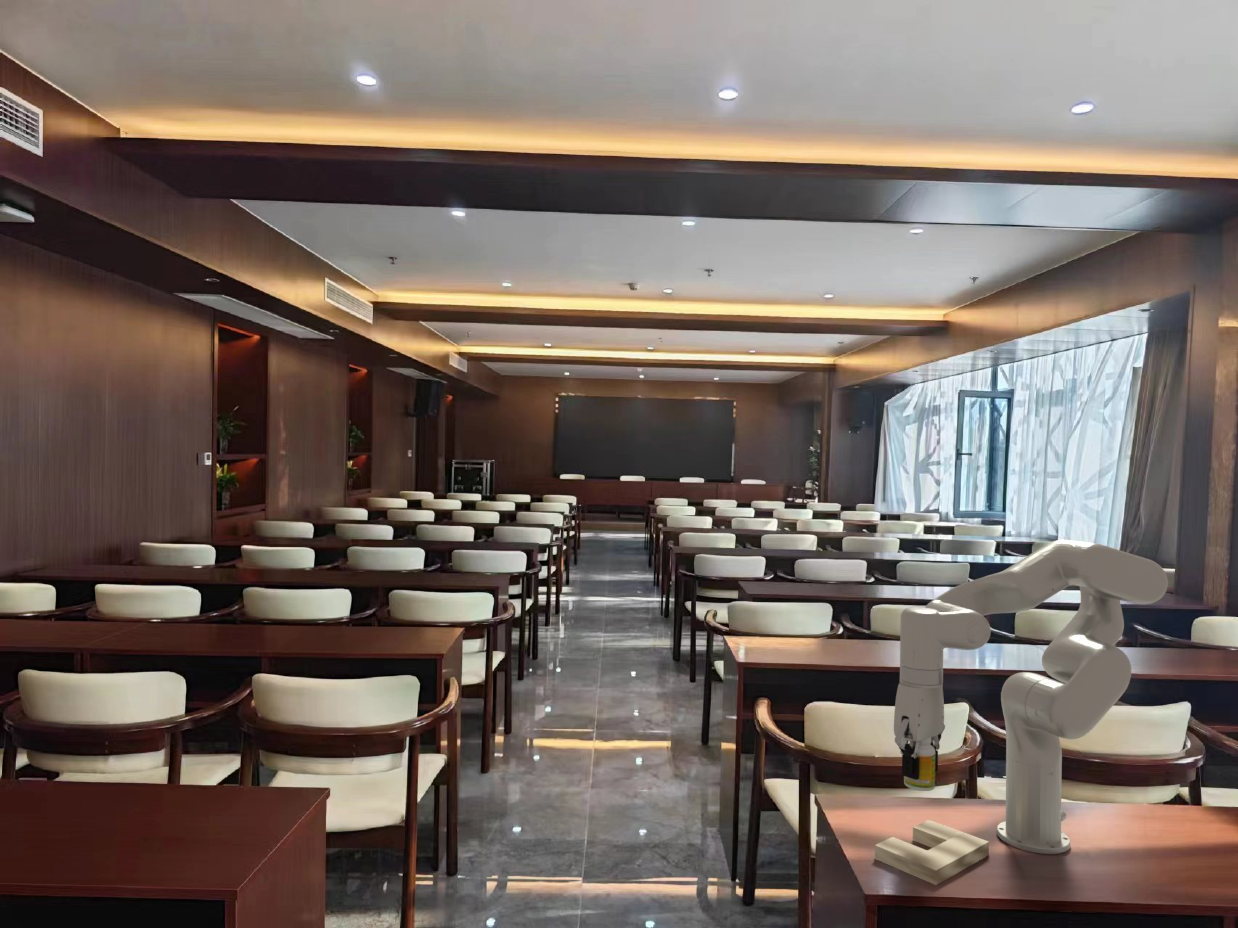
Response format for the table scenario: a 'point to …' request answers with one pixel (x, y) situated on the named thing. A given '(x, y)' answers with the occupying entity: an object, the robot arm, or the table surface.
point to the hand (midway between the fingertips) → (919, 772)
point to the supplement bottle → (923, 767)
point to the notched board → (933, 852)
